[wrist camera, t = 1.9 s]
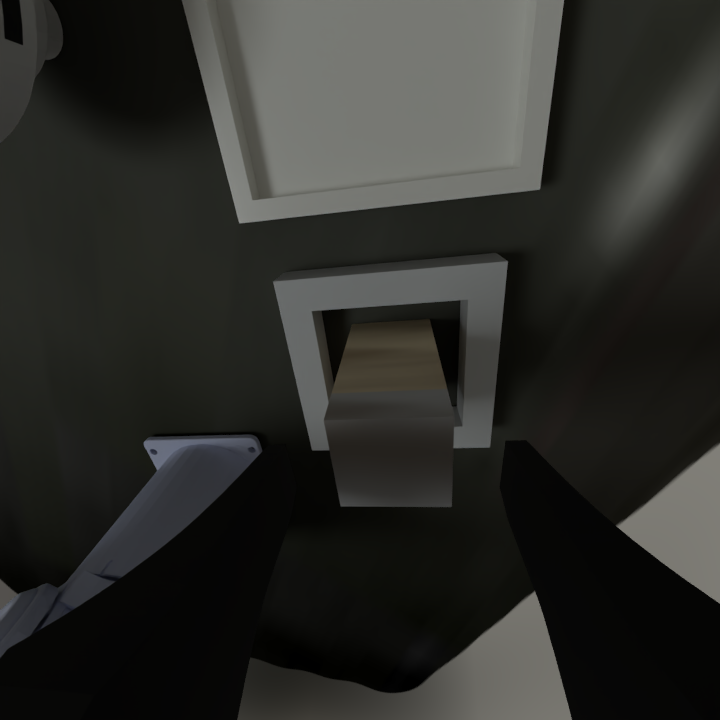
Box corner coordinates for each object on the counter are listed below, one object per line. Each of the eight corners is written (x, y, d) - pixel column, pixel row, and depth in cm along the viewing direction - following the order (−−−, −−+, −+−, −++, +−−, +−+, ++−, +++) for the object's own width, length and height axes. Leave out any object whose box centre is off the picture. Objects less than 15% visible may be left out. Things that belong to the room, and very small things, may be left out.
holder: (482, 426, 20) (489, 447, 18) (318, 430, 21) (312, 450, 19) (495, 252, 15) (507, 261, 14) (284, 271, 16) (273, 281, 15)
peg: (430, 385, 19) (451, 507, 12) (360, 388, 19) (340, 506, 12) (429, 318, 17) (454, 416, 10) (352, 324, 17) (323, 420, 10)
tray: (526, 188, 14) (539, 189, 12) (252, 219, 15) (239, 223, 14) (585, -351, 8) (621, -451, 7) (148, -216, 10) (110, -278, 9)
